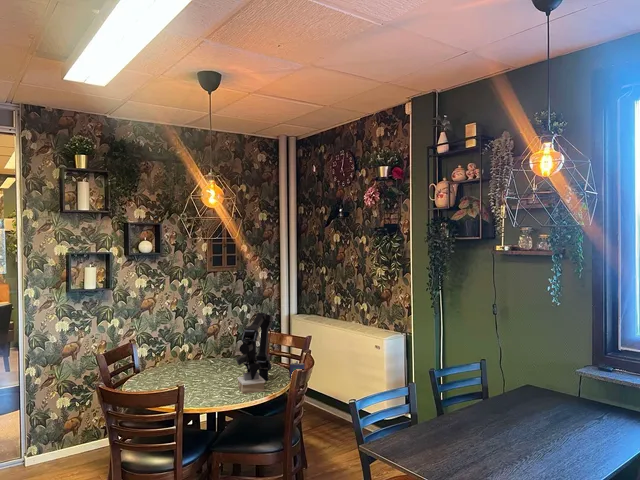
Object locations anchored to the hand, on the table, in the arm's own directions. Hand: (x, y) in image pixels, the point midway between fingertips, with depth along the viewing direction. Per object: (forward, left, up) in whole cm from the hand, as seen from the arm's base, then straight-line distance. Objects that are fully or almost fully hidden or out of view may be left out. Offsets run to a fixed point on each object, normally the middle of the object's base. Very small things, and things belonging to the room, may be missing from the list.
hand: (251, 377), depth 271 cm
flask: (-12, +32, -7) cm, 35 cm away
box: (0, 0, -7) cm, 7 cm away
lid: (0, 0, -3) cm, 3 cm away
